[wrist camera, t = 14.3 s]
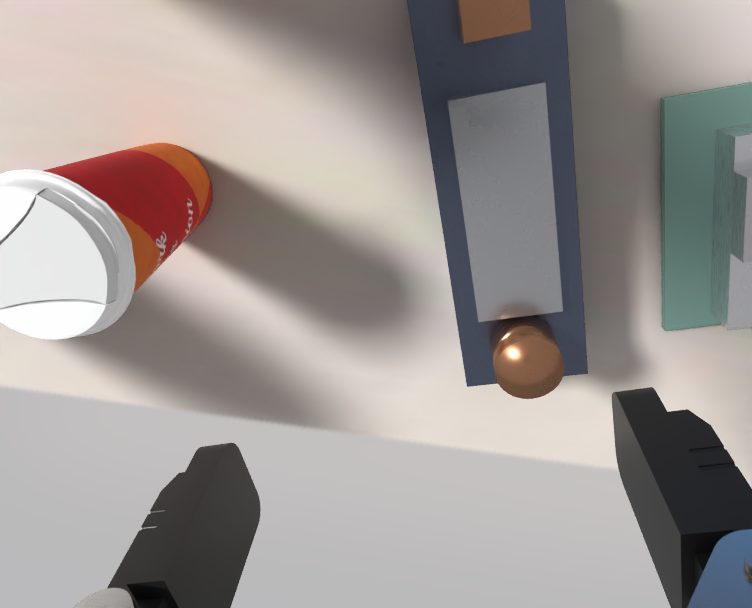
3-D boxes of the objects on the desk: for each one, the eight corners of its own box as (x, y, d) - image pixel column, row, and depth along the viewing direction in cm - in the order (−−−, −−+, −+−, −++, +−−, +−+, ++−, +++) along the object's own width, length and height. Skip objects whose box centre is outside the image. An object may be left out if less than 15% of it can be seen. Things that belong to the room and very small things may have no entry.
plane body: (408, -14, 32) (396, -29, 23) (545, -45, 30) (585, -72, 22) (464, 350, 40) (470, 438, 32) (572, 337, 39) (609, 424, 30)
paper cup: (150, 261, 40) (13, 370, 27) (86, 152, 37) (-98, 216, 24) (252, 221, 38) (157, 318, 25) (193, 103, 35) (53, 145, 23)
